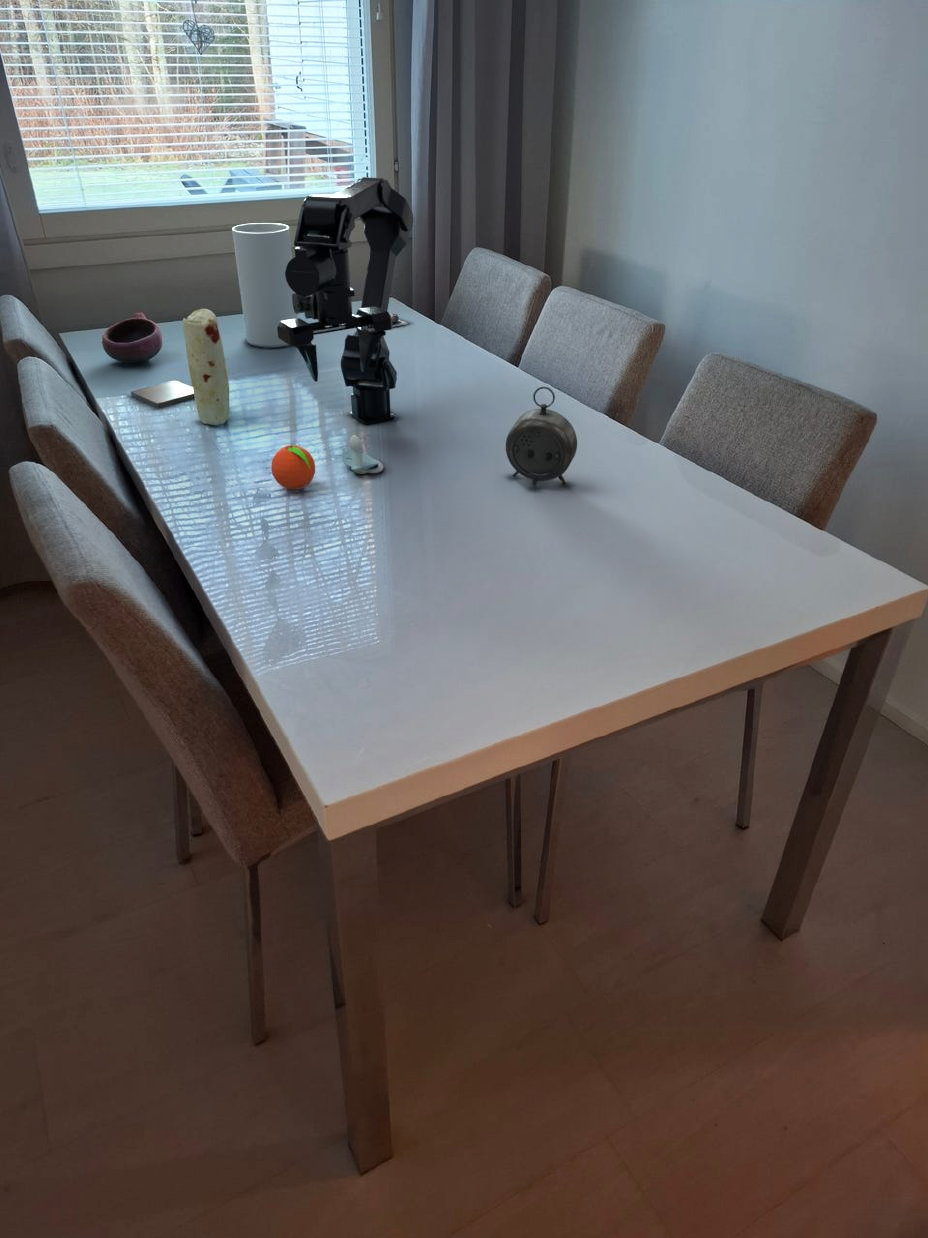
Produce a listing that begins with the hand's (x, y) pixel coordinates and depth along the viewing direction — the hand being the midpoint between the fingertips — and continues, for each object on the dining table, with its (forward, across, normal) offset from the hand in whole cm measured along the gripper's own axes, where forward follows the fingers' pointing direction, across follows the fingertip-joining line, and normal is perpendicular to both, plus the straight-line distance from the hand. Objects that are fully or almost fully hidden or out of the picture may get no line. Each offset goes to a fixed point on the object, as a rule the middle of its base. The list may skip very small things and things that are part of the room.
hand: (339, 376), depth 149 cm
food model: (+12, +16, -22) cm, 30 cm away
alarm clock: (+12, -19, +33) cm, 40 cm away
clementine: (+12, +15, +14) cm, 24 cm away
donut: (+13, -45, -65) cm, 80 cm away
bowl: (+12, +18, -68) cm, 72 cm away
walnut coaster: (+12, +20, -40) cm, 47 cm away
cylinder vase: (+12, -14, -65) cm, 68 cm away
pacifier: (+12, +3, +13) cm, 18 cm away
